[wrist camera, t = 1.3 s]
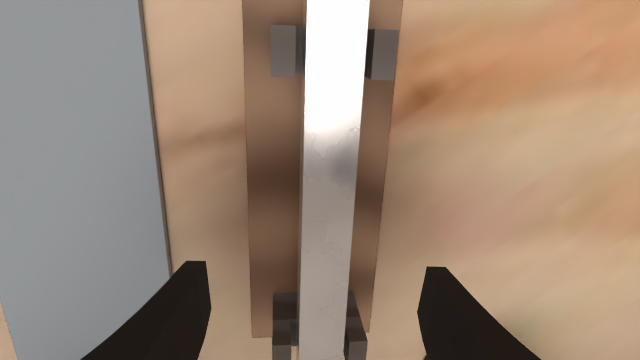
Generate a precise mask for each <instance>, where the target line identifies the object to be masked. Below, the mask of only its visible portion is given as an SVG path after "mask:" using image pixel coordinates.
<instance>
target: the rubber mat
mask: <svg viewBox="0 0 640 360" xmlns="http://www.w3.org/2000/svg"><path fill="white" fill-rule="evenodd" d="M171 276H172V271H171V262H170V253H169V244H168V235H167V226H166V217H165V208H164V199H163V190H162V181H161V172H160V163H159V154H158V145H157V136H156V127H155V118H154V109H153V100H152V91H151V82H150V73H149V64H148V55H147V46H146V37H145V28H144V19H143V10H142V1H141V0H0V302H1V306H2V309H3V312H4V316H5V319H6V322H7V326H8V329H9V332H10V336H11V339H12V342H13V346H14V349H15V352H16V356H17V359H18V360H80V359H81V358H83V357H84V356H86V355H87V354H88V353H89V352H91V351H92V350H93V349H94V348H96V347H97V346H98V345H100V344H101V343H102V342H103V341H104V340H106V339H107V338H108V337H109V336H110V335H112V334H113V333H114V332H115V331H116V330H117V329H119V328H120V327H121V326H122V325H123V324H124V323H125V322H126V321H127V320H128V319H129V318H131V317H132V316H133V315H134V314H135V313H136V312H137V311H138V310H139V309H140V308H141V307H142V306H143V305H144V304H145V303H146V302H147V301H148V300H149V299H150V298H151V297H152V296H153V295H154V294H155V293H156V292H157V291H158V290H159V289H160V288H161V287H162V286H163V285H164V284H165V283H166V282H167V281H168V280H169V279H170V278H171Z"/></svg>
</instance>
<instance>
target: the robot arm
mask: <svg viewBox="0 0 640 360" xmlns="http://www.w3.org/2000/svg"><path fill="white" fill-rule="evenodd" d="M210 312H211V301H210V293H209V285H208V276H207V268H206V261H186V262H185V263H184V264H183V265H182V266H181V267H180V268H179V269H178V270H177V271H176V272H175V273H174V274H173V275H172V276H171V278H170V279H169V280H168V281H167V282H166V283H165V284H164V285H163V286H162V287H161V288H160V289H159V290H158V291H157V292H156V293H155V294H154V295H153V296H152V297H151V298H150V299H149V300H148V301H147V302H146V303H145V304H144V305H143V306H142V307H141V308H140V309H139V310H138V311H137V312H136V313H135V314H134V315H133V316H132V317H131V318H129V319H128V320H127V321H126V322H125V323H124V324H123V325H122V326H121V327H120V328H119V329H117V330H116V331H115V332H114V333H113V334H112V335H110V336H109V337H108V338H107V339H106V340H104V341H103V342H102V343H101V344H100V345H98V346H97V347H96V348H94V349H93V350H92V351H91V352H89V353H88V354H87V355H86V356H84V357H83V358H81V359H80V360H197V359H198V356H199V353H200V350H201V348H202V345H203V342H204V339H205V335H206V330H207V326H208V321H209V317H210ZM417 314H418V319H419V324H420V330H421V334H422V339H423V343H424V347H425V350H426V353H427V356H428V359H429V360H541V359H540V358H538V357H537V356H536V355H535V354H534V353H532V352H531V351H530V350H529V349H527V348H526V347H525V346H524V345H523V344H522V343H520V342H519V341H518V340H517V339H516V338H515V337H514V336H513V335H511V334H510V333H509V332H508V331H507V330H506V329H505V328H504V327H503V326H502V325H501V324H500V323H499V322H497V321H496V320H495V319H494V318H493V317H492V316H491V315H490V314H489V313H488V312H487V311H486V310H485V309H484V308H483V307H482V306H481V305H480V304H479V303H478V301H477V300H476V299H475V298H474V297H473V296H472V295H471V294H470V293H469V292H468V291H467V290H466V289H465V288H464V287H463V285H462V284H461V283H460V282H459V281H458V280H457V279H456V278H455V277H454V276H453V275H452V273H451V272H450V271H449V270H448V269H447V268H446V267H427V269H426V274H425V278H424V283H423V288H422V292H421V297H420V302H419V306H418V311H417Z"/></svg>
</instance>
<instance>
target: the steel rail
mask: <svg viewBox="0 0 640 360" xmlns="http://www.w3.org/2000/svg"><path fill="white" fill-rule="evenodd" d="M369 4H370V0H303V39H302V87H301V135H300V182H299V230H298V277H297V325H296V360H343V350H344V336H345V323H346V310H347V296H348V283H349V270H350V256H351V243H352V230H353V216H354V203H355V190H356V177H357V163H358V150H359V137H360V123H361V110H362V97H363V83H364V70H365V57H366V43H367V30H368V17H369Z"/></svg>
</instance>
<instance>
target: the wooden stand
mask: <svg viewBox="0 0 640 360" xmlns="http://www.w3.org/2000/svg"><path fill="white" fill-rule="evenodd" d="M402 6H403V0H370V4H369V17H368V30H367V43H366V57H365V70H364V83H363V97H362V110H361V123H360V137H359V150H358V163H357V177H356V190H355V203H354V216H353V230H352V243H351V256H350V270H349V283H348V296H347V310H346V323H345V336H344V350H343V352H344V356H345V360H366V352H367V342H368V341H367V338H366V334H365V333H367V332H369V329H370V319H371V309H372V299H373V289H374V280H375V270H376V260H377V250H378V241H379V231H380V221H381V211H382V201H383V192H384V182H385V172H386V162H387V153H388V143H389V133H390V123H391V114H392V104H393V94H394V84H395V74H396V65H397V55H398V45H399V35H400V26H401V16H402ZM242 9H243V44H244V79H245V113H246V148H247V183H248V218H249V252H250V287H251V322H252V338H260V337H272V360H291V346H296V325H297V277H298V230H299V182H300V135H301V87H302V39H303V0H242Z"/></svg>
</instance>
